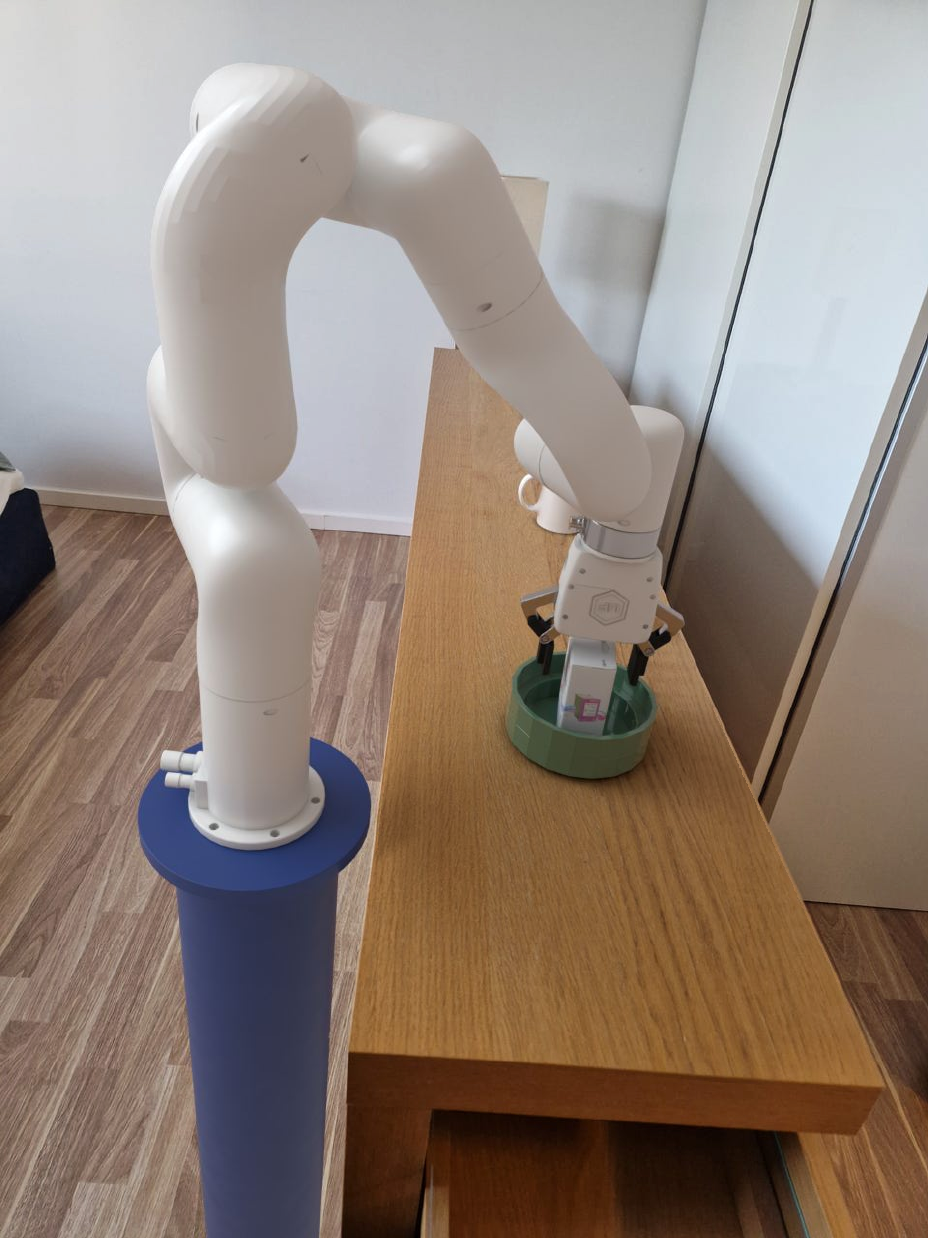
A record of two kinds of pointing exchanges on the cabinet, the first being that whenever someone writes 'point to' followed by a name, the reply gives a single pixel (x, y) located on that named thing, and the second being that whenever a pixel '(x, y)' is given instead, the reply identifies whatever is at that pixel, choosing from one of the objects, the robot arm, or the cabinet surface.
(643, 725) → the bowl
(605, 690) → the ink box
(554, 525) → the mug
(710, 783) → the cabinet surface
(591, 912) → the cabinet surface
